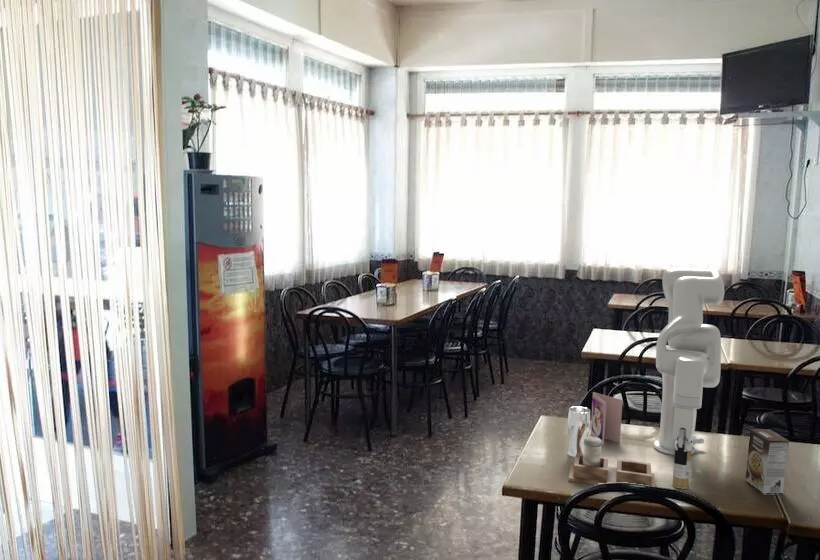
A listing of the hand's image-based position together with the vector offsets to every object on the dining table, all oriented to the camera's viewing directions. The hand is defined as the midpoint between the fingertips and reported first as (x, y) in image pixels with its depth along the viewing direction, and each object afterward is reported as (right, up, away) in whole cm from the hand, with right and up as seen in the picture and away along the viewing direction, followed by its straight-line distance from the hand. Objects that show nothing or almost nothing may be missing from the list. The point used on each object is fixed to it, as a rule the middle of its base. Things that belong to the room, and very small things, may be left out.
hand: (682, 458), depth 191 cm
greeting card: (-11, -4, +37) cm, 39 cm away
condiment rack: (-18, -8, +6) cm, 21 cm away
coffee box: (+24, -9, +2) cm, 26 cm away
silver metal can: (-24, -5, +24) cm, 34 cm away
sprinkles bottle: (0, -9, +2) cm, 9 cm away
